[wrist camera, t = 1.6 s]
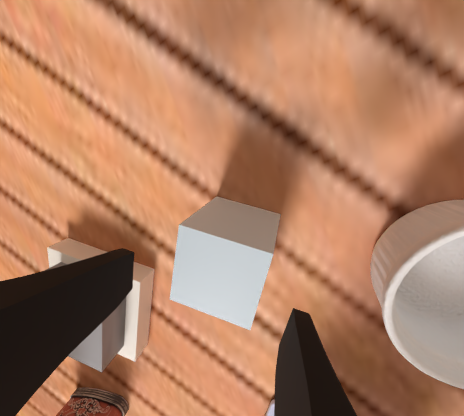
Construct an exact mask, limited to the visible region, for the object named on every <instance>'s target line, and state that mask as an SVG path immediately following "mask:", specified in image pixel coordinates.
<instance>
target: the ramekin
mask: <svg viewBox="0 0 464 416" xmlns="http://www.w3.org/2000/svg"><path fill="white" fill-rule="evenodd" d="M370 267H371V272H370V275H371V280H372V285H373V288H374V291H375V293H376V295H377V298H378V300H379V303H380V305H381V308H382V316H383V320H384V324H385V328H386V330H387V333H388V335H389V337H390V339H391V341H392V343H393V345H394V346H395V347H396V349H397V350H398V351H399V352H400V354H402V356H403V357H404V358H405V359H406V360H408V361H409V362H410V363H411V364H412V365H414V366H415V367H416V368H417V369H419V370H420V371H422V372H423V373H425V374H427V375H429V376H431V377H433V378H435V379H437V380H439V381H442V382H444V383H447V384H449V385H451V386H454V387H458V388H461V389H464V199H463V200H449V201H442V202H438V203H433V204H429V205H426V206H424V207H421V208H418V209H416V210H414V211H412V212H410V213H408V214H406V215H404V216H403V217H401V218H399V219H398V220H397V221H395V222H394V223H393V224H392V225H391V226H389V227H388V228H387V230H386V231H385V232H384V233H383V234H382V235H381V237H380V238H379V240H378V241H377V243H376V245H375V247H374V249H373V253H372V258H371V264H370Z"/></svg>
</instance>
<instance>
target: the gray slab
mask: <svg viewBox="0 0 464 416" xmlns="http://www.w3.org/2000/svg"><path fill="white" fill-rule="evenodd" d="M64 265H67V264H65V263H62V262H60V263H58V264H56V265H54V266H52V267H50V268H49V269H53V268H57V267H60V266H64ZM49 269H47V270H49ZM45 271H46V270H45ZM125 316H126V297H125V299H124V300H123V301H122V302H121V303H120V305H119V306H118V307H117V308H116V309H115V310H114V311H113V312H112V313H111V314H110V315H109V316H108V317H107V318H106V319H105V320H104V321H103V322H102V323H101V324H100V325H99V326H98V327H97V328H96V329H95V330H94V331H93V332H92V333H91V334H90V335H89V336H88V337H87V338H86V339H85V340H84V341H83V342H81V343H80V344H79V345H78V346H77V347H76V348H75V349H74V350H73V351H72V352H71V353H70V354H69V355H68V356H69V357H71V358H73V359H75V360H77V361H79V362H81V363H83V364H85V365H87V366H90V367H92V368H94V369H96V370H98V371H100V372H103V370H104V369H105V368H106V367H107V366H108V364H109V363H110V362H111V361H112V359H113V358H114V357H115V356H116V355H117V353H118V352H119V351H120V350H121V348H122V347H123V346H124V335H125Z"/></svg>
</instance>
